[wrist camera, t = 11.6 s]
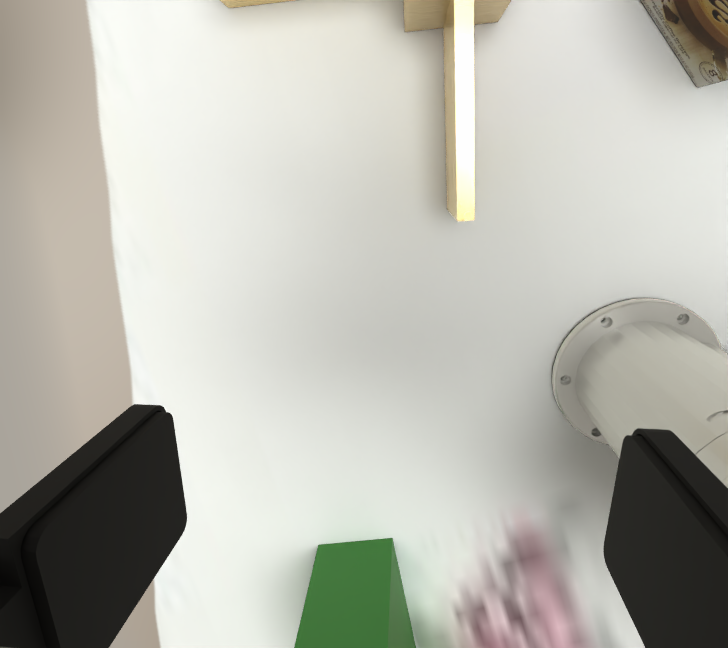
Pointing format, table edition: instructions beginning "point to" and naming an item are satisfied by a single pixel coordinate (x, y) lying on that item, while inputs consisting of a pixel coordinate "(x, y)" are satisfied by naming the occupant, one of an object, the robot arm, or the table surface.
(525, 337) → the table surface
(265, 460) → the table surface
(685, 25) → the coffee box
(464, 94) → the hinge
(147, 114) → the table surface
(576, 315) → the table surface
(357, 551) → the hardback book
